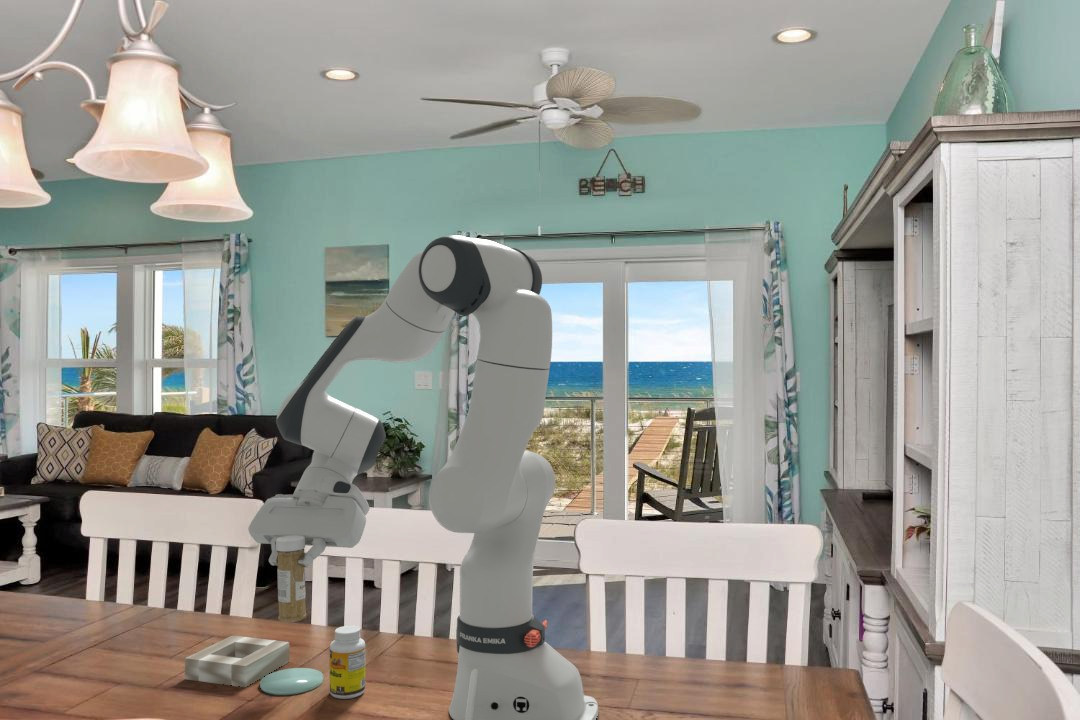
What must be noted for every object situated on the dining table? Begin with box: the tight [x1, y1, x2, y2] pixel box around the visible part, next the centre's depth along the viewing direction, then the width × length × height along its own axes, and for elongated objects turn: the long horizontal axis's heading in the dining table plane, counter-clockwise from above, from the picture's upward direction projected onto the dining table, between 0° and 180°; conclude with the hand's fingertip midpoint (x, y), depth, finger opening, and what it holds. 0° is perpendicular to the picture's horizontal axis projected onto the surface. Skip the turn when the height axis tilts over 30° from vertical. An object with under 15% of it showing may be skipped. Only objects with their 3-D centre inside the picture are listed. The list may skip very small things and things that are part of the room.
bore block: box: [184, 635, 290, 688], centre depth 142 cm, size 12×12×4 cm
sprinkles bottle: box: [276, 535, 307, 623], centre depth 137 cm, size 5×5×14 cm
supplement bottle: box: [329, 625, 366, 700], centre depth 132 cm, size 6×6×10 cm
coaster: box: [259, 667, 324, 696], centre depth 137 cm, size 10×10×1 cm
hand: (288, 564), depth 136 cm, fingers closed on sprinkles bottle, 4 cm apart
